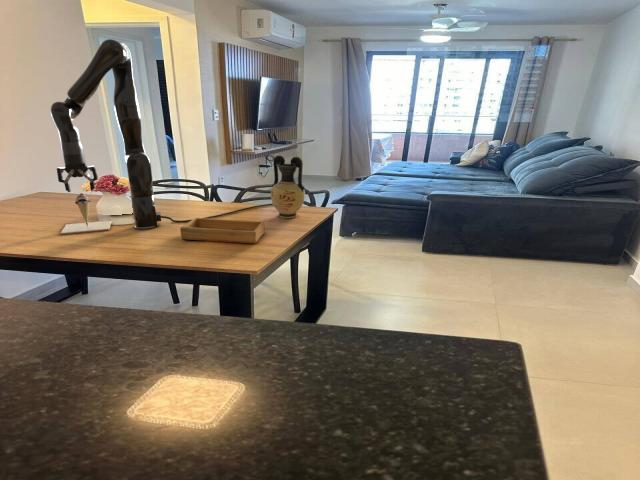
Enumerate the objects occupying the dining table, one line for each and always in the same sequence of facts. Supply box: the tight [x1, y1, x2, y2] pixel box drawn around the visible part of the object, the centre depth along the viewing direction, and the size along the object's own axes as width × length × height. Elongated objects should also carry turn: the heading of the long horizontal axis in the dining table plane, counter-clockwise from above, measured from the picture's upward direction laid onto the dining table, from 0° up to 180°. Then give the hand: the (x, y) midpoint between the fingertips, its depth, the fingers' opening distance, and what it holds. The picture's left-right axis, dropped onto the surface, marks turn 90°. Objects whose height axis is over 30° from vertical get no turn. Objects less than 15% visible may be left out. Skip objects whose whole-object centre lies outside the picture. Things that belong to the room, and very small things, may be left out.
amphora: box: [270, 154, 306, 219], centre depth 189 cm, size 18×17×30 cm
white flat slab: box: [59, 220, 112, 236], centre depth 169 cm, size 18×16×1 cm
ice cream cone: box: [74, 192, 91, 226], centre depth 166 cm, size 6×6×15 cm
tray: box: [179, 217, 265, 245], centre depth 159 cm, size 31×15×6 cm, turn 85°
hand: (81, 191), depth 164 cm, fingers open, 8 cm apart
